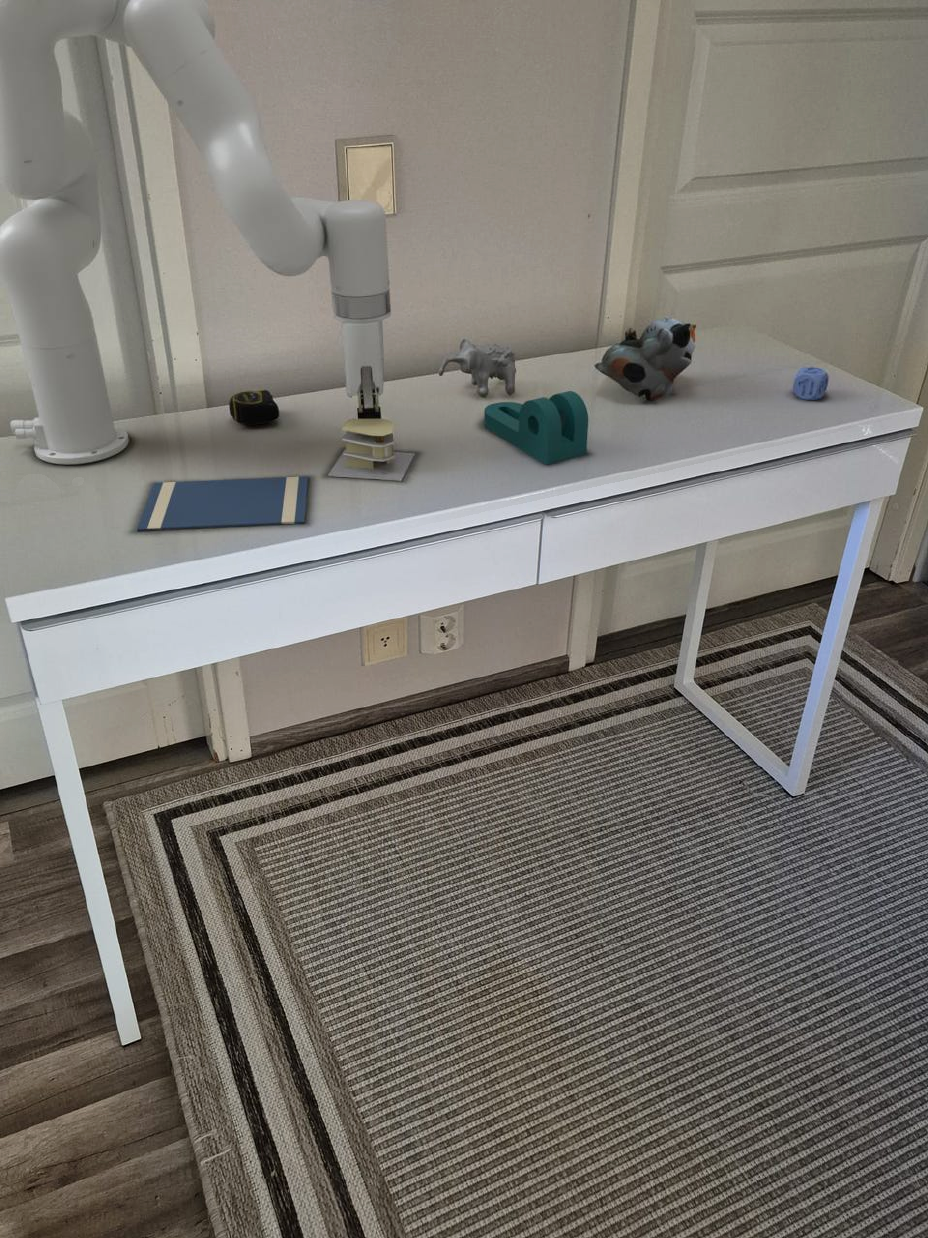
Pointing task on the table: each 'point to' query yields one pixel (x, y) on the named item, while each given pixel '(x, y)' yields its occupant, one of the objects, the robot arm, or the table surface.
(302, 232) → the robot arm
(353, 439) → the stacked layers on plate
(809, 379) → the decorative dice
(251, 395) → the tape measure
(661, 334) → the lucky cat figurine
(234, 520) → the cloth
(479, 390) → the gray elephant figurine
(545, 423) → the bracket
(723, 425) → the table surface
